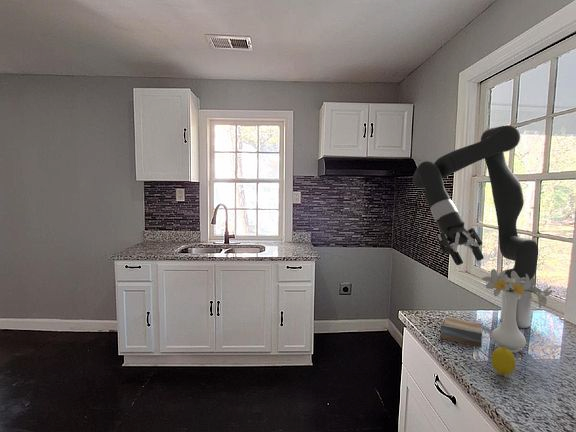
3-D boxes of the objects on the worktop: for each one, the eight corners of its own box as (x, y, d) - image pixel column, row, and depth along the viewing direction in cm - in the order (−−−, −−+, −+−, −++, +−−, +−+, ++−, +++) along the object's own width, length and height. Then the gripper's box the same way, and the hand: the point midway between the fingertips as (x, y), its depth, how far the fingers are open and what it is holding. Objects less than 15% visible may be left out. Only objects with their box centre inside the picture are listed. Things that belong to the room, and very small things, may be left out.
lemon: (515, 383, 87) (517, 354, 87) (491, 377, 90) (492, 349, 89) (513, 373, 92) (515, 345, 91) (490, 367, 95) (491, 340, 94)
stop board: (445, 320, 129) (446, 309, 128) (481, 327, 123) (482, 315, 122) (440, 338, 113) (441, 325, 113) (481, 346, 107) (482, 333, 107)
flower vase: (544, 367, 95) (550, 282, 93) (473, 346, 108) (477, 270, 106) (548, 351, 105) (555, 274, 103) (483, 333, 117) (487, 264, 115)
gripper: (455, 219, 114) (478, 262, 108) (422, 224, 109) (444, 270, 103) (470, 208, 108) (496, 254, 101) (437, 213, 103) (461, 261, 96)
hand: (470, 262), depth 102 cm, fingers open, 8 cm apart
